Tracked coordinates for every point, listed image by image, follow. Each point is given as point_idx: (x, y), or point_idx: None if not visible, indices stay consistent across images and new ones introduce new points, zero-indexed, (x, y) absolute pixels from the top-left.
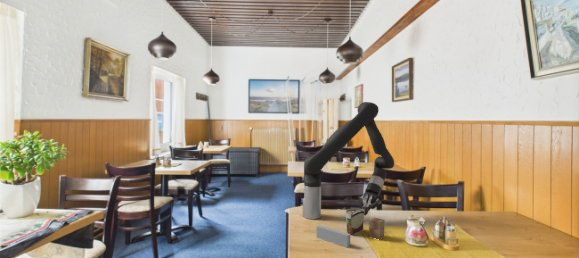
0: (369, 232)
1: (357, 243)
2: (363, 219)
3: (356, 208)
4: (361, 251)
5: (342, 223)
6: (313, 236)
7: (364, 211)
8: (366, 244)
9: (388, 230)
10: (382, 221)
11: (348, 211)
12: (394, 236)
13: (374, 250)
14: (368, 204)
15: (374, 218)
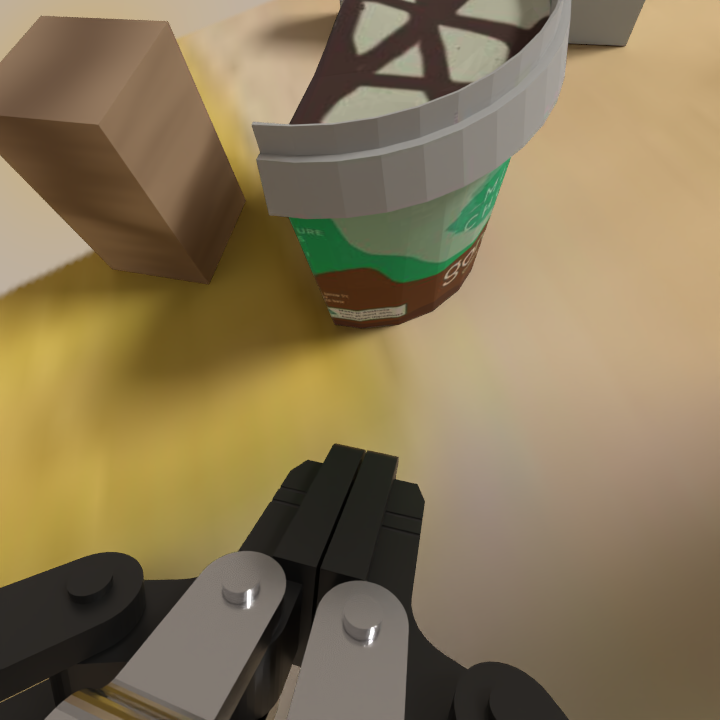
0: (224, 161)
1: (308, 77)
2: (307, 249)
3: (437, 101)
4: (259, 13)
5: (662, 420)
6: (656, 21)
7: (263, 172)
8: (245, 92)
9: (49, 474)
10: (2, 77)
11: (535, 19)
12: (12, 330)
13: (184, 53)
14: (184, 653)
15: (96, 89)
